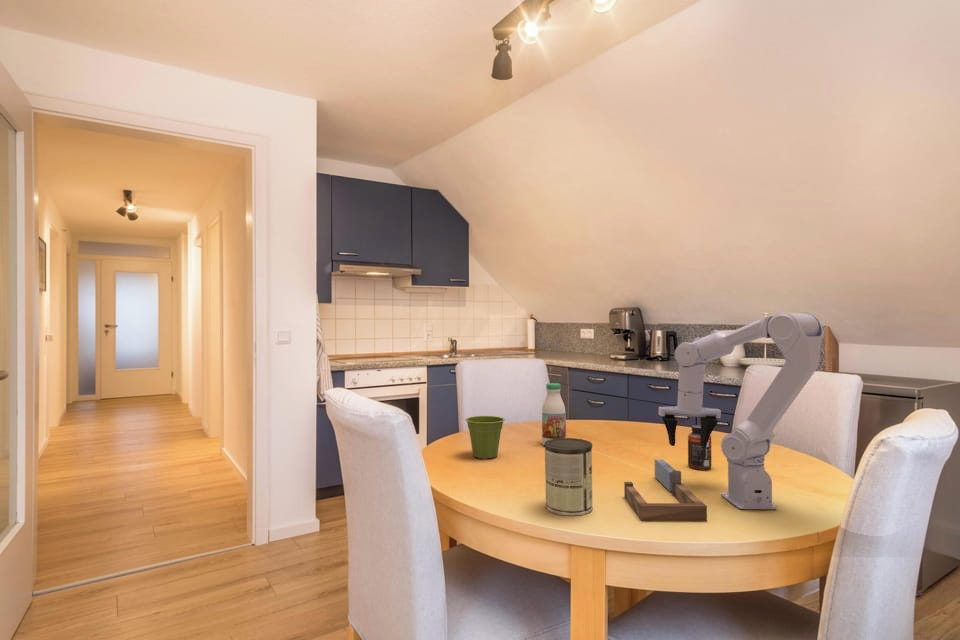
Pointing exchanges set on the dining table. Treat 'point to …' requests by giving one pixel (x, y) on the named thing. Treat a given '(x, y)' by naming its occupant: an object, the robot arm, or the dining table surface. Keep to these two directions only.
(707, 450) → the supplement bottle
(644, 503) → the wooden u-shaped frame
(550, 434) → the milk bottle
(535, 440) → the dining table surface
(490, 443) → the plant pot
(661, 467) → the gate
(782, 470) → the dining table surface
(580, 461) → the coffee can
